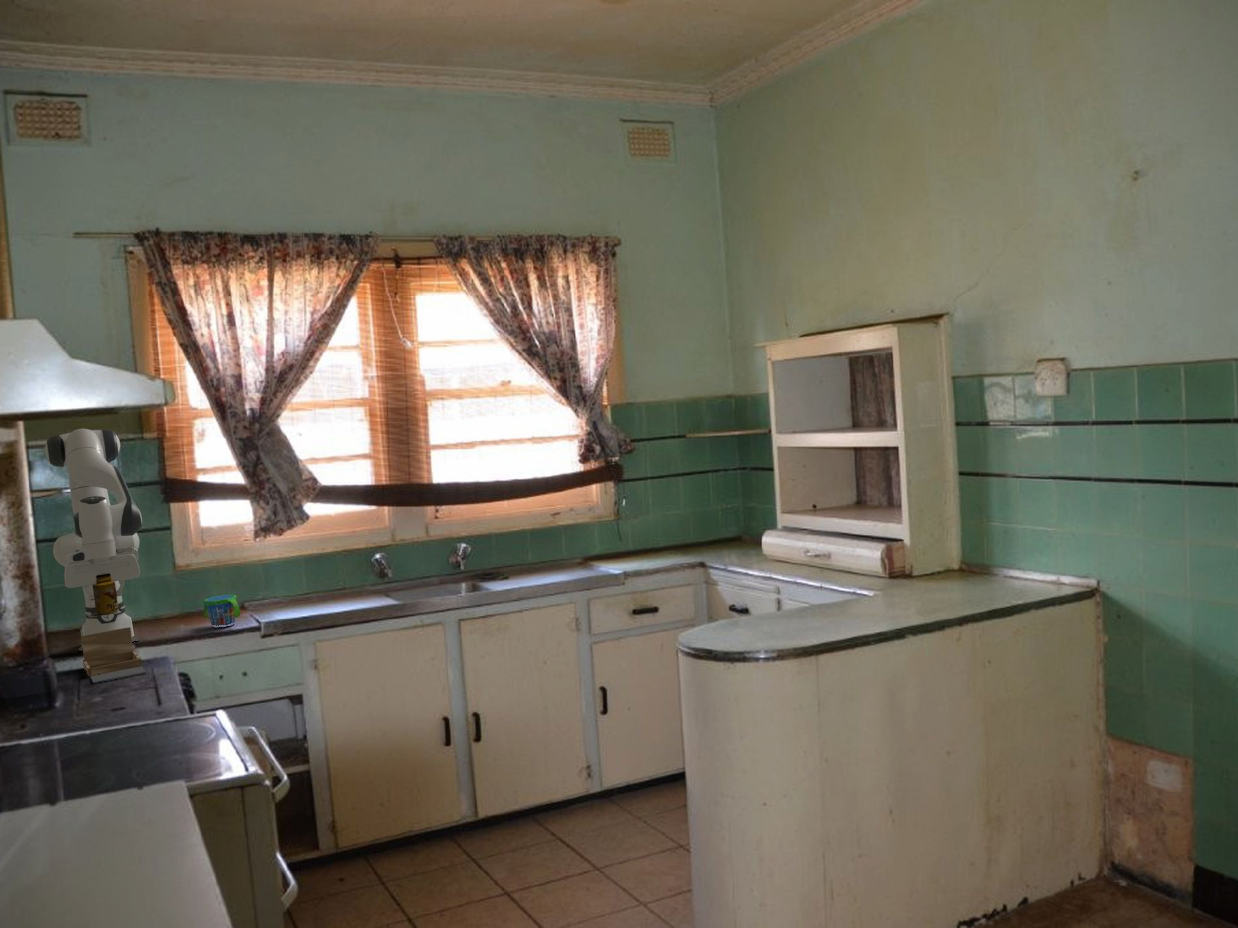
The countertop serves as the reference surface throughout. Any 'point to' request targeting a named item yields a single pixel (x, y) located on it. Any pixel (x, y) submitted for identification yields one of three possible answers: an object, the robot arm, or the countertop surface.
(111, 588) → the condiment
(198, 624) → the countertop surface
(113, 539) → the robot arm
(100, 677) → the mat
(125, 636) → the carton
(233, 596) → the snack cup
